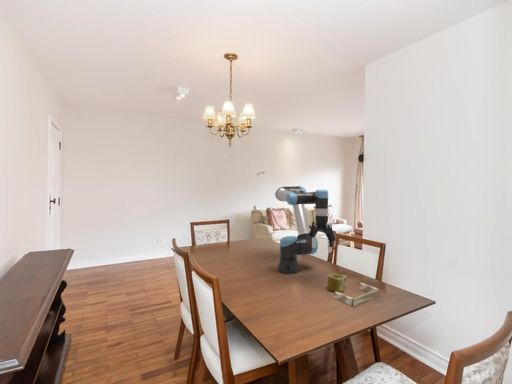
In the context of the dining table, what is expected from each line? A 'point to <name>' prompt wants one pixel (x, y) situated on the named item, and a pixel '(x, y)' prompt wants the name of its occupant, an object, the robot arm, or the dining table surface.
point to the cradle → (360, 299)
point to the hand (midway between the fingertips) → (321, 249)
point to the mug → (336, 282)
